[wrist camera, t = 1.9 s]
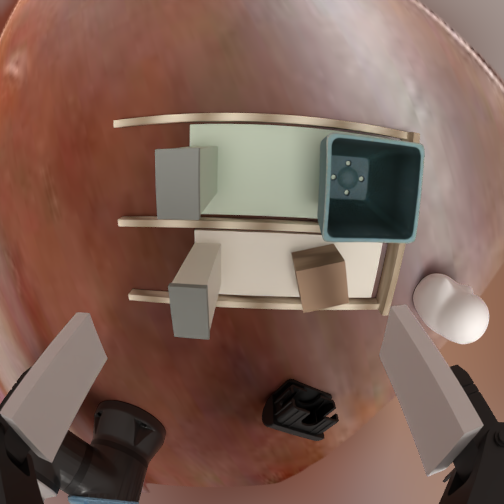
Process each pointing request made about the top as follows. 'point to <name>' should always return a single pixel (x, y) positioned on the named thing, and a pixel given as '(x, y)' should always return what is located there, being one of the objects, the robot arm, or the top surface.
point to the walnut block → (320, 277)
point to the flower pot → (369, 189)
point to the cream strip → (253, 272)
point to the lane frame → (393, 249)
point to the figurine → (451, 308)
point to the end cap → (300, 410)
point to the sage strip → (242, 172)
